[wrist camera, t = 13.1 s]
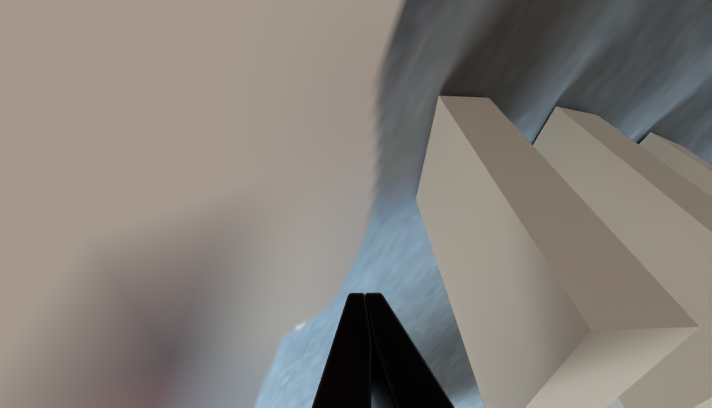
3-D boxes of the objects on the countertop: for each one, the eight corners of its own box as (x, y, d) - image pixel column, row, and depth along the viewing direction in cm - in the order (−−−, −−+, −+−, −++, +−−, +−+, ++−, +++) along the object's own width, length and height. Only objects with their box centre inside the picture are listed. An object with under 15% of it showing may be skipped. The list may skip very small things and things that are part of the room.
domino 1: (488, 97, 14) (699, 327, 6) (457, 199, 17) (570, 437, 9) (438, 95, 14) (591, 329, 6) (415, 199, 17) (496, 442, 9)
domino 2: (597, 115, 15) (906, 337, 7) (534, 208, 18) (700, 435, 10) (556, 106, 14) (833, 330, 7) (498, 202, 17) (641, 435, 10)
